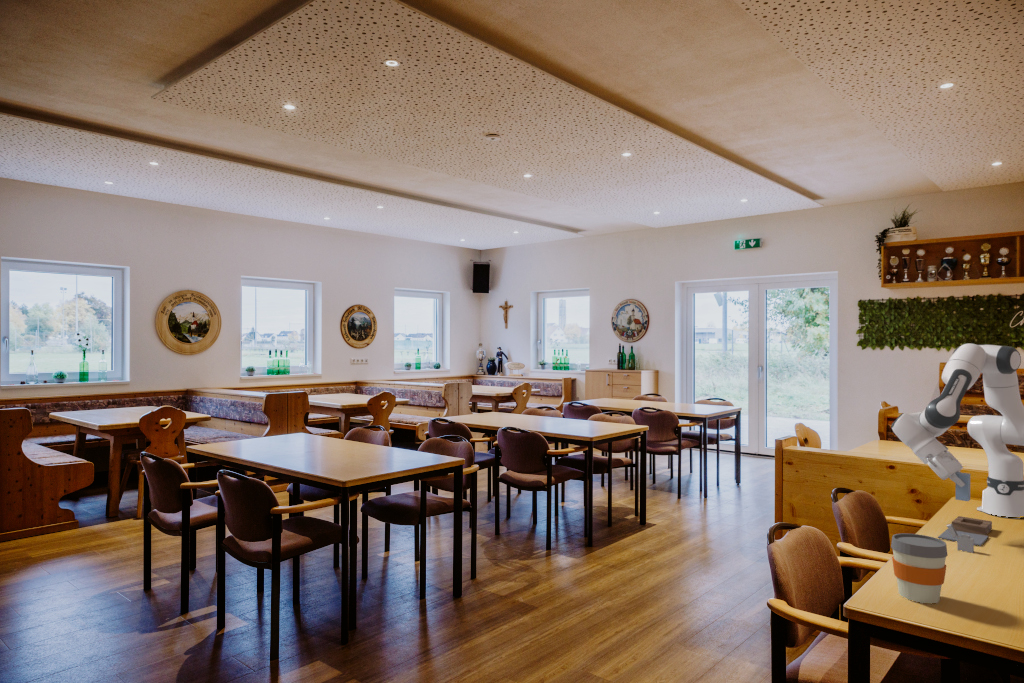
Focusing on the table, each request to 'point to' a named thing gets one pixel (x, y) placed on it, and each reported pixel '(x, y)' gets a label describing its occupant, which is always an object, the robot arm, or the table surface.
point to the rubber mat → (977, 538)
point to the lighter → (962, 540)
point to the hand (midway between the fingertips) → (965, 484)
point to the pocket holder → (972, 525)
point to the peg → (964, 491)
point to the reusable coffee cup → (919, 566)
